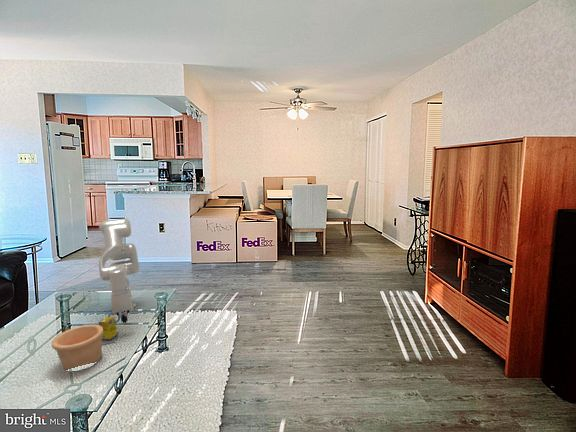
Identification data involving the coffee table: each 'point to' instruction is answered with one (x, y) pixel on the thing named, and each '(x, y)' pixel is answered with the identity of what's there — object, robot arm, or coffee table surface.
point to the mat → (109, 341)
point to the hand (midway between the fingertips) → (124, 322)
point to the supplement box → (108, 328)
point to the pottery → (79, 346)
